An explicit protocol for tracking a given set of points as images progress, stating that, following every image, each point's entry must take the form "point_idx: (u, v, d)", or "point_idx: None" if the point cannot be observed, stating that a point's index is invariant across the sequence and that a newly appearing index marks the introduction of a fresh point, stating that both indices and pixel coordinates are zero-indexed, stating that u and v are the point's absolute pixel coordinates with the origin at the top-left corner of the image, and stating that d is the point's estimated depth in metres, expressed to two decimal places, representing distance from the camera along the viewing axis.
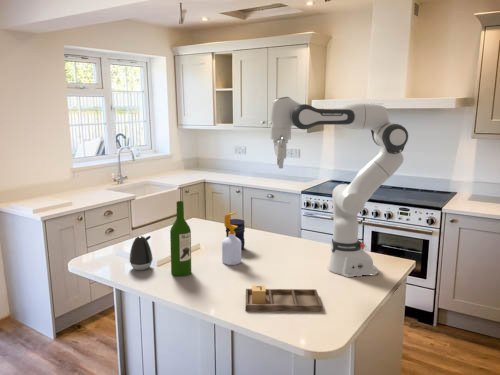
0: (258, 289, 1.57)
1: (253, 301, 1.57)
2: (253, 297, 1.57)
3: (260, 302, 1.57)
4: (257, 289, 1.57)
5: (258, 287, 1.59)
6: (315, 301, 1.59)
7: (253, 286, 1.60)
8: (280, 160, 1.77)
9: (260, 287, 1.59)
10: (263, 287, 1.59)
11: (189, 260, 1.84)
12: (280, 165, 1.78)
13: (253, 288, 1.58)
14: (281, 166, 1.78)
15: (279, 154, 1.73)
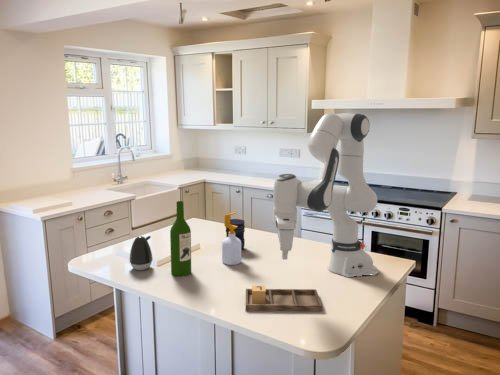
0: (258, 289, 1.57)
1: (253, 301, 1.57)
2: (253, 297, 1.57)
3: (260, 302, 1.57)
4: (257, 289, 1.57)
5: (258, 287, 1.59)
6: (315, 301, 1.59)
7: (253, 286, 1.60)
8: None
9: (260, 287, 1.59)
10: (263, 287, 1.59)
11: (189, 260, 1.84)
12: None
13: (253, 288, 1.58)
14: None
15: None
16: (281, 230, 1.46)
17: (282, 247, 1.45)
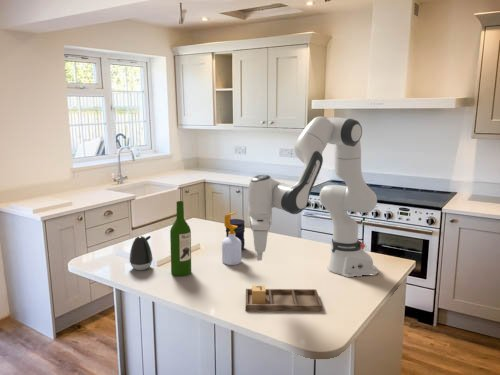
0: (258, 289, 1.57)
1: (253, 301, 1.57)
2: (253, 297, 1.57)
3: (260, 302, 1.57)
4: (257, 289, 1.57)
5: (258, 287, 1.59)
6: (315, 301, 1.59)
7: (253, 286, 1.60)
8: None
9: (260, 287, 1.59)
10: (263, 287, 1.59)
11: (189, 260, 1.84)
12: None
13: (253, 288, 1.58)
14: None
15: None
16: (255, 231, 1.46)
17: (256, 248, 1.45)
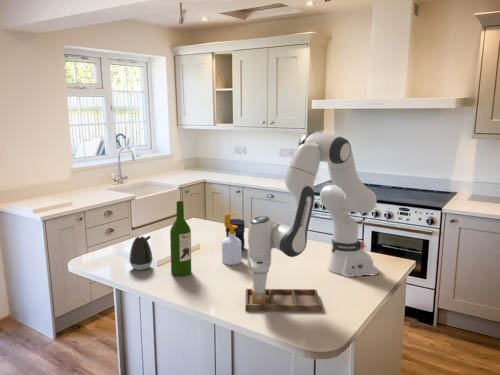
0: None
1: (253, 301, 1.57)
2: (253, 297, 1.57)
3: (260, 302, 1.57)
4: None
5: None
6: (315, 301, 1.59)
7: (253, 286, 1.60)
8: None
9: None
10: None
11: (189, 260, 1.84)
12: None
13: (253, 288, 1.58)
14: None
15: None
16: (254, 273, 1.49)
17: (255, 290, 1.48)
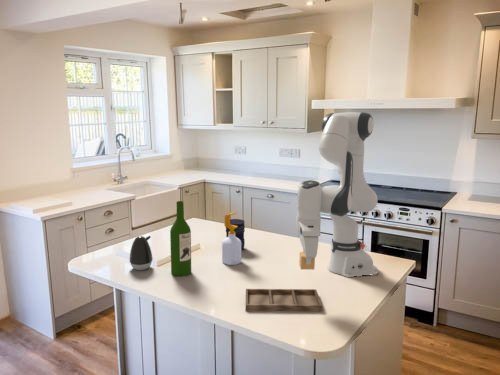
0: None
1: (302, 267, 1.55)
2: (302, 263, 1.54)
3: (309, 268, 1.55)
4: None
5: None
6: (315, 301, 1.59)
7: (301, 252, 1.58)
8: None
9: None
10: None
11: (189, 260, 1.84)
12: None
13: (302, 254, 1.56)
14: None
15: None
16: (306, 237, 1.46)
17: (307, 254, 1.46)
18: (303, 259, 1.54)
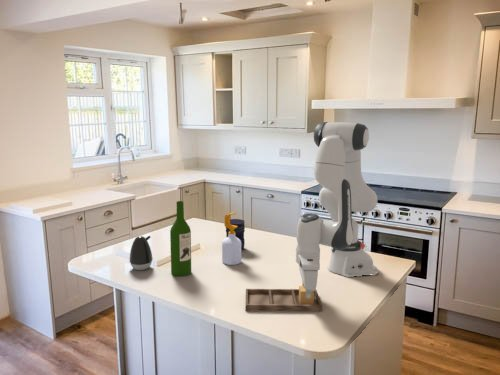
0: None
1: (301, 301, 1.57)
2: (301, 297, 1.57)
3: (308, 302, 1.57)
4: None
5: None
6: (315, 301, 1.59)
7: (300, 286, 1.60)
8: None
9: None
10: None
11: (189, 260, 1.84)
12: None
13: (301, 289, 1.58)
14: None
15: None
16: (305, 271, 1.48)
17: (307, 288, 1.48)
18: (302, 294, 1.56)
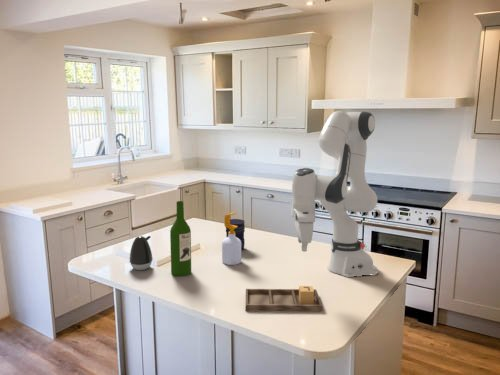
0: (306, 289, 1.58)
1: (301, 301, 1.57)
2: (301, 297, 1.57)
3: (308, 302, 1.57)
4: (305, 289, 1.58)
5: (306, 287, 1.59)
6: (315, 301, 1.59)
7: (300, 286, 1.60)
8: None
9: (308, 287, 1.59)
10: (311, 287, 1.59)
11: (189, 260, 1.84)
12: None
13: (301, 289, 1.58)
14: None
15: None
16: (301, 223, 1.50)
17: (302, 240, 1.50)
18: (302, 294, 1.56)
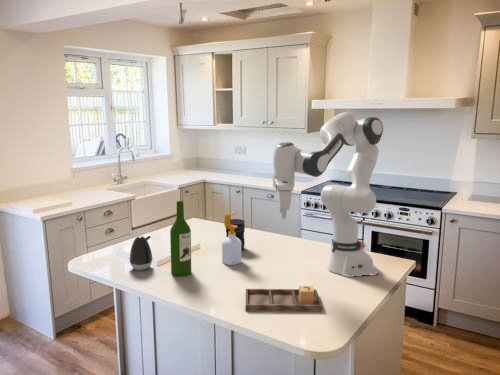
0: (306, 289, 1.58)
1: (301, 301, 1.57)
2: (301, 297, 1.57)
3: (308, 302, 1.57)
4: (305, 289, 1.58)
5: (306, 287, 1.59)
6: (315, 301, 1.59)
7: (300, 286, 1.60)
8: None
9: (308, 287, 1.59)
10: (311, 287, 1.59)
11: (189, 260, 1.84)
12: None
13: (301, 289, 1.58)
14: None
15: None
16: (280, 191, 1.63)
17: (281, 206, 1.63)
18: (302, 294, 1.56)
